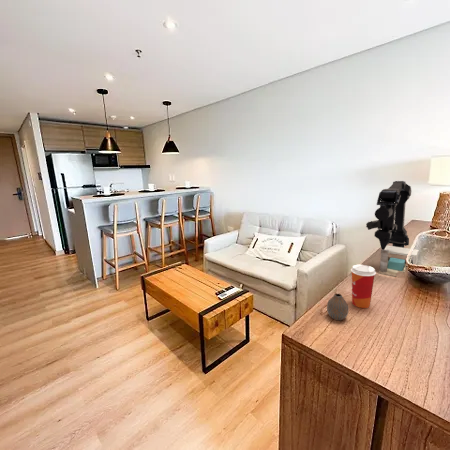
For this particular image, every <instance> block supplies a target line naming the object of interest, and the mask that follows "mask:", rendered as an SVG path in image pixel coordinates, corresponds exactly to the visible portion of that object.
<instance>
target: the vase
mask: <svg viewBox="0 0 450 450" xmlns="http://www.w3.org/2000/svg"><path fill="white" fill-rule="evenodd" d="M326 311H327V314H328V315H329V317H330V318H331V319H333V320H334V319H335V321H343V320H346V318H347V316H348V315H349V304H348V302H347V301H346V299H345V298H344V297H343V295H342V294H341V293H338V292H337V293H334V294H333V295H332V297H331V298H329V300H328V302H327V304H326Z"/></svg>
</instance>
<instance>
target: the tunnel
mask: <svg viewBox="0 0 450 450" xmlns="http://www.w3.org/2000/svg"><path fill="white" fill-rule="evenodd" d="M410 249H411V248H407V247H404V248H402V247H394V246H392V245H387V246H386V247H385V250H389V254H393V255H400V256H405V257H408V256H407V255H408V253H409V251H410ZM419 253H420V251H419V249H414V250H413V252H412V254H411V256H410V257H412V258H413V261H412V265H413V264H416V265H418V261H419V260H418V259H419Z"/></svg>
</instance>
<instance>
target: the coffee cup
mask: <svg viewBox="0 0 450 450" xmlns="http://www.w3.org/2000/svg"><path fill="white" fill-rule="evenodd" d="M350 272H351V304H352V305H353V306H355V307H356V308H359V309H368V308H370V307H371V301H372V295H373V288H374V282H375V275H376V274H377V272H376V269H375V268H374V267H372V266H370V265H365V264H360V263H359V264H353V265H352V268H350Z"/></svg>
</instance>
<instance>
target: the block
mask: <svg viewBox="0 0 450 450" xmlns="http://www.w3.org/2000/svg"><path fill="white" fill-rule="evenodd" d="M405 264H406V259H402V258H396V257H390V258H388V269H393V270H398V272H400V271H403V269H404V266H405Z"/></svg>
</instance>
